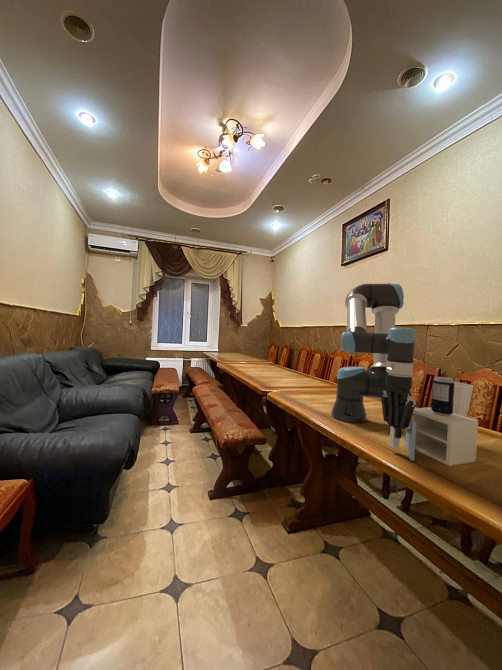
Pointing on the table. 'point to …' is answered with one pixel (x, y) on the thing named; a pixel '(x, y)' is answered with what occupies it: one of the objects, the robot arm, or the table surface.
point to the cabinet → (446, 436)
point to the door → (411, 438)
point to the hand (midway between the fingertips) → (394, 446)
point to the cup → (462, 398)
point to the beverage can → (443, 396)
